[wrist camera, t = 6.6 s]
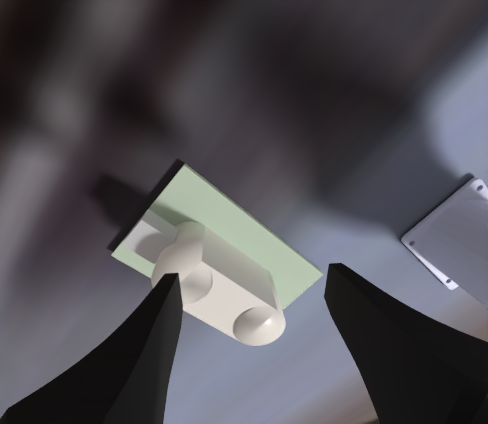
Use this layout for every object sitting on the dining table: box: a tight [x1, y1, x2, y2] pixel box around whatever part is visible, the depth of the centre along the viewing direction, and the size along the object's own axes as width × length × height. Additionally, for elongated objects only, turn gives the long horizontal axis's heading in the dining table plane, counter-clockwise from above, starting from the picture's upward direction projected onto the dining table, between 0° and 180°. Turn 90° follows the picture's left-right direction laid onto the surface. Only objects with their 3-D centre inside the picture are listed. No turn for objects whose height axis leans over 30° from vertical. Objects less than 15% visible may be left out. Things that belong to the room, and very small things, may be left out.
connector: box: [121, 209, 285, 346], centre depth 20 cm, size 13×4×5 cm, turn 48°
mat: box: [111, 163, 324, 310], centre depth 23 cm, size 16×10×1 cm, turn 48°
